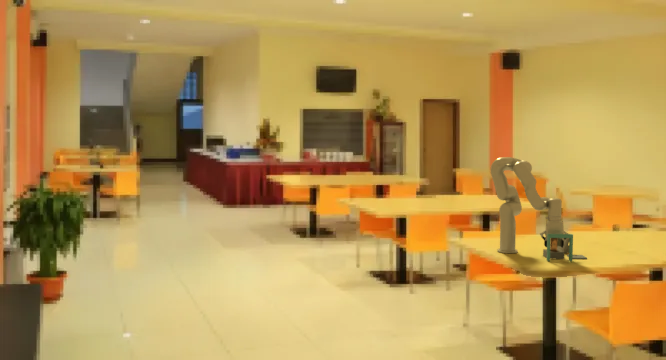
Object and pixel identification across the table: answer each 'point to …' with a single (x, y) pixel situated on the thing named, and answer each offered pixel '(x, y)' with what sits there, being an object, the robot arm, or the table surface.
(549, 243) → the green arch
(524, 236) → the table surface
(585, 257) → the mat
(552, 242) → the cylinder
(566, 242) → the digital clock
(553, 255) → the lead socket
